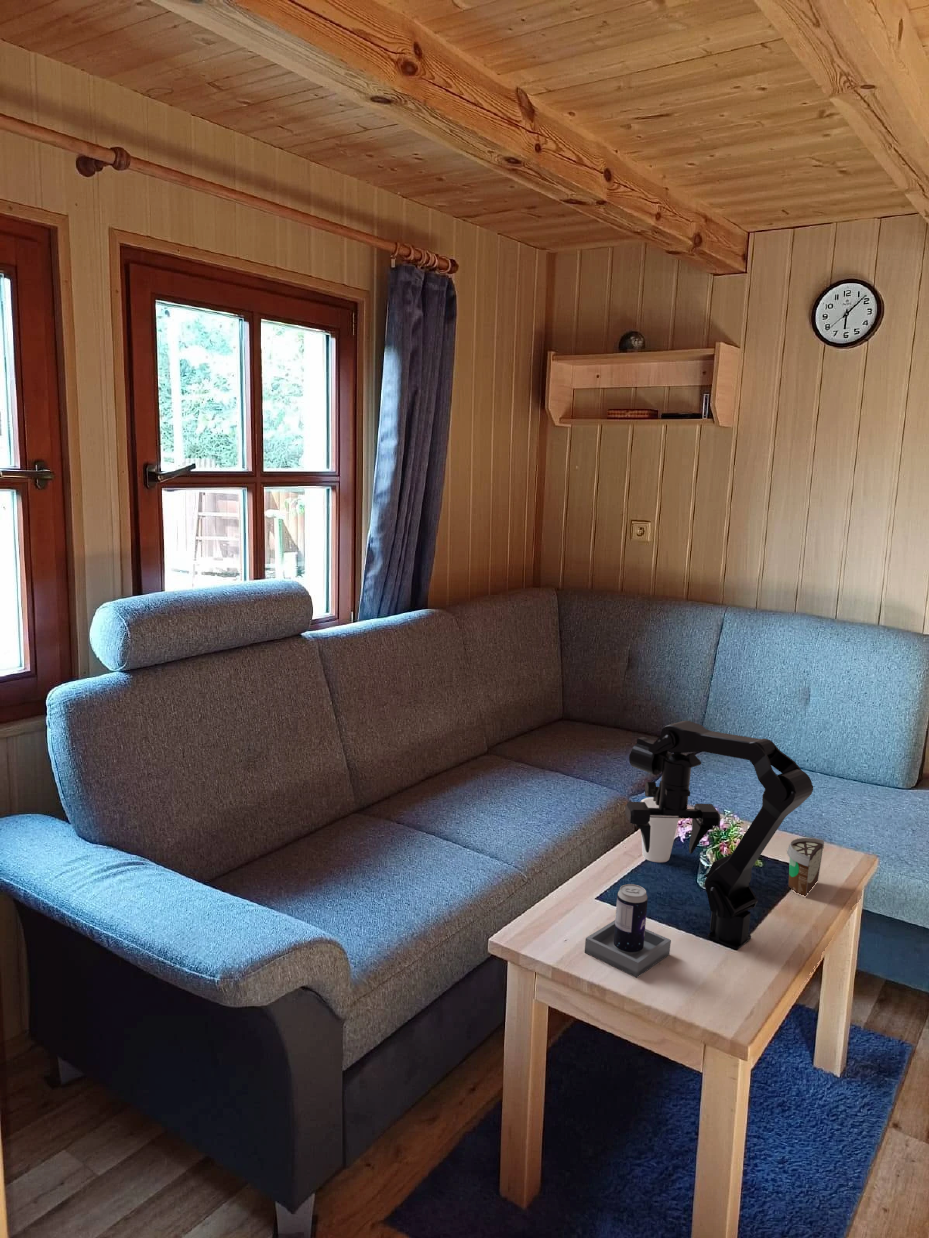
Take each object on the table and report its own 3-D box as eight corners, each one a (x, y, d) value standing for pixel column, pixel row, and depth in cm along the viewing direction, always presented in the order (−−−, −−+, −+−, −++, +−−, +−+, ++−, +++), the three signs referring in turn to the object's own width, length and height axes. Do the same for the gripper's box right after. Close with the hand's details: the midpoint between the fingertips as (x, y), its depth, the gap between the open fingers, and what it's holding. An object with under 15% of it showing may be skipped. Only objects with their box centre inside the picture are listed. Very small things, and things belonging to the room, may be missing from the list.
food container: (792, 872, 215) (797, 832, 213) (819, 880, 211) (824, 839, 209) (775, 891, 205) (780, 849, 203) (803, 900, 201) (809, 857, 199)
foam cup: (629, 857, 218) (633, 805, 216) (644, 844, 226) (649, 794, 224) (667, 868, 213) (672, 815, 211) (682, 855, 221) (687, 803, 218)
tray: (669, 954, 177) (670, 939, 176) (636, 977, 168) (638, 962, 168) (618, 931, 184) (619, 917, 184) (584, 952, 176) (585, 937, 175)
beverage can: (642, 958, 173) (648, 899, 171) (612, 953, 174) (617, 894, 172) (643, 943, 178) (648, 885, 176) (613, 938, 180) (618, 881, 177)
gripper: (708, 769, 199) (701, 837, 202) (622, 766, 198) (616, 834, 201) (724, 788, 188) (717, 859, 191) (633, 785, 187) (627, 857, 190)
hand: (668, 852), depth 193 cm, fingers open, 9 cm apart
